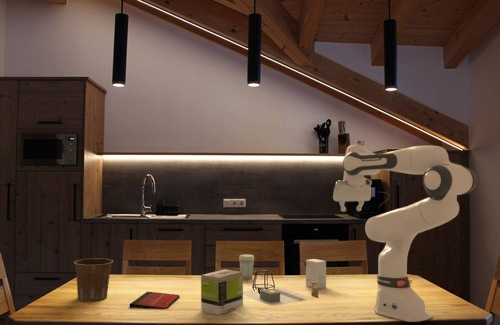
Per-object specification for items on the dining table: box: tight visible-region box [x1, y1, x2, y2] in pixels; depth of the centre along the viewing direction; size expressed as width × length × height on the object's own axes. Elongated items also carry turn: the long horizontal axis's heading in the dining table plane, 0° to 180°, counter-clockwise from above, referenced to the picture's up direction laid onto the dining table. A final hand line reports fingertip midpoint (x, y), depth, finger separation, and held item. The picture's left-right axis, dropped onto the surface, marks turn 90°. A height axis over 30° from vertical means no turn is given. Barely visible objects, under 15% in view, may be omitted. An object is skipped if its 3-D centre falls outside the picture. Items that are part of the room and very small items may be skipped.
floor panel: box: [243, 286, 313, 307], centre depth 203 cm, size 26×22×2 cm
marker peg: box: [310, 281, 319, 298], centre depth 206 cm, size 3×3×7 cm
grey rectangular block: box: [260, 288, 280, 303], centre depth 196 cm, size 8×5×4 cm, turn 32°
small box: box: [305, 258, 327, 290], centre depth 227 cm, size 8×6×13 cm
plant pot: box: [73, 258, 114, 302], centre depth 201 cm, size 16×16×16 cm
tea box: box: [200, 268, 244, 316], centre depth 186 cm, size 15×10×15 cm, turn 141°
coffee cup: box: [238, 253, 255, 280], centre depth 246 cm, size 8×8×12 cm
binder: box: [129, 291, 180, 310], centre depth 197 cm, size 16×2×21 cm
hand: (351, 210), depth 208 cm, fingers open, 8 cm apart
